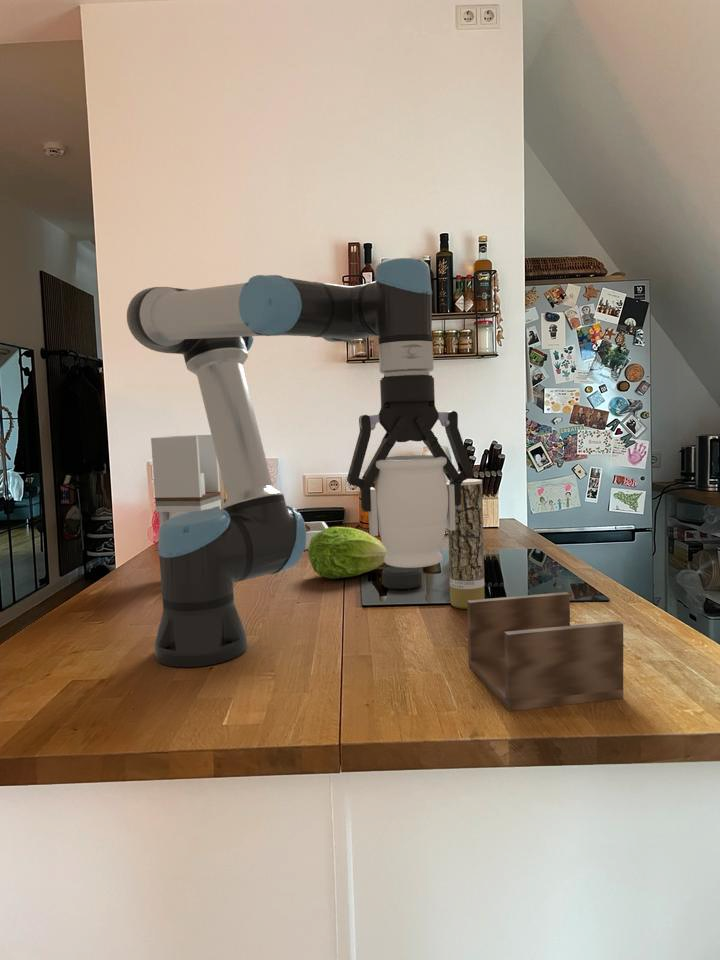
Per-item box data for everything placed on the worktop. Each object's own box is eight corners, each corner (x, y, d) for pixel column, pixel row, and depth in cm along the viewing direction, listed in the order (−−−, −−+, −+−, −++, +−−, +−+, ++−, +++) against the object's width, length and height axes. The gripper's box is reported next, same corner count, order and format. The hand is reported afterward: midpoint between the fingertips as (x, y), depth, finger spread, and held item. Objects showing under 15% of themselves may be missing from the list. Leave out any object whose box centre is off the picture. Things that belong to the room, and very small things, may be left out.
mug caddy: (276, 551, 197) (275, 534, 196) (273, 540, 215) (272, 524, 214) (331, 547, 199) (330, 530, 199) (324, 536, 217) (323, 521, 217)
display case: (161, 586, 161) (150, 437, 158) (183, 575, 172) (173, 435, 168) (205, 587, 159) (196, 436, 155) (225, 576, 169) (216, 434, 165)
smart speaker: (399, 593, 148) (398, 575, 147) (374, 586, 155) (373, 568, 155) (430, 586, 153) (429, 568, 153) (404, 579, 160) (404, 562, 160)
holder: (509, 711, 89) (507, 634, 88) (468, 665, 105) (467, 600, 104) (623, 698, 91) (623, 623, 90) (566, 655, 107) (566, 592, 106)
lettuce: (411, 549, 165) (383, 514, 174) (336, 552, 152) (310, 514, 161) (390, 589, 171) (365, 553, 180) (316, 595, 158) (292, 556, 167)
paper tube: (484, 610, 133) (481, 482, 130) (449, 609, 134) (445, 482, 132) (485, 600, 139) (482, 478, 137) (451, 600, 141) (448, 479, 138)
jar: (405, 551, 105) (402, 454, 104) (464, 558, 99) (461, 455, 97) (361, 565, 97) (357, 460, 96) (422, 574, 91) (418, 461, 89)
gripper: (327, 376, 90) (335, 541, 92) (495, 370, 94) (498, 530, 96) (321, 379, 97) (329, 532, 100) (477, 373, 101) (481, 522, 103)
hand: (412, 531), depth 98 cm, fingers closed on jar, 10 cm apart
